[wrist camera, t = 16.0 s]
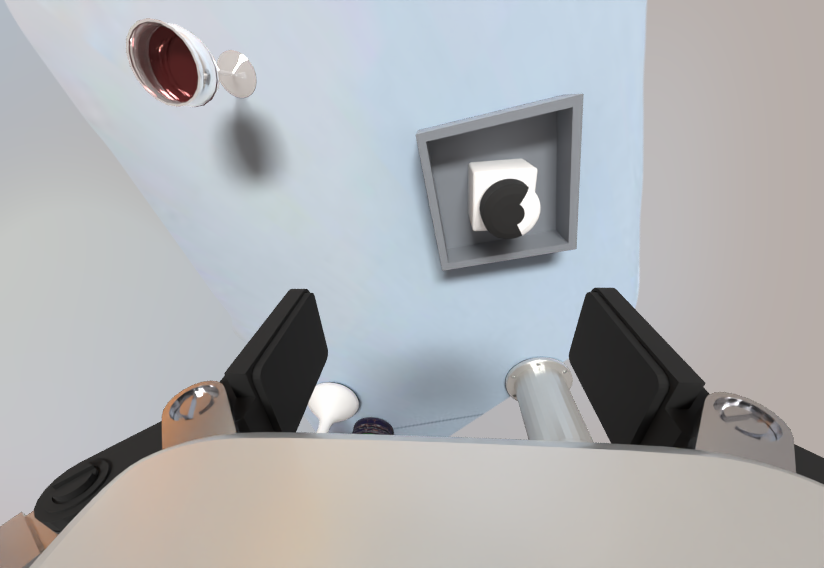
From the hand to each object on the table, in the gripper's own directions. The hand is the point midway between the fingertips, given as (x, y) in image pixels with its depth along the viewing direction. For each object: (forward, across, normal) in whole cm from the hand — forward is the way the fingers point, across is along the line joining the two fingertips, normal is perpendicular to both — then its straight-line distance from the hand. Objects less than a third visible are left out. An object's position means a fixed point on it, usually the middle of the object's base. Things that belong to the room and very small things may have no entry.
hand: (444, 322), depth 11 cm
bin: (+36, -8, +4) cm, 37 cm away
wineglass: (+36, +25, -11) cm, 46 cm away
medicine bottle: (+36, -8, +4) cm, 37 cm away
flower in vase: (+36, +23, +48) cm, 64 cm away
